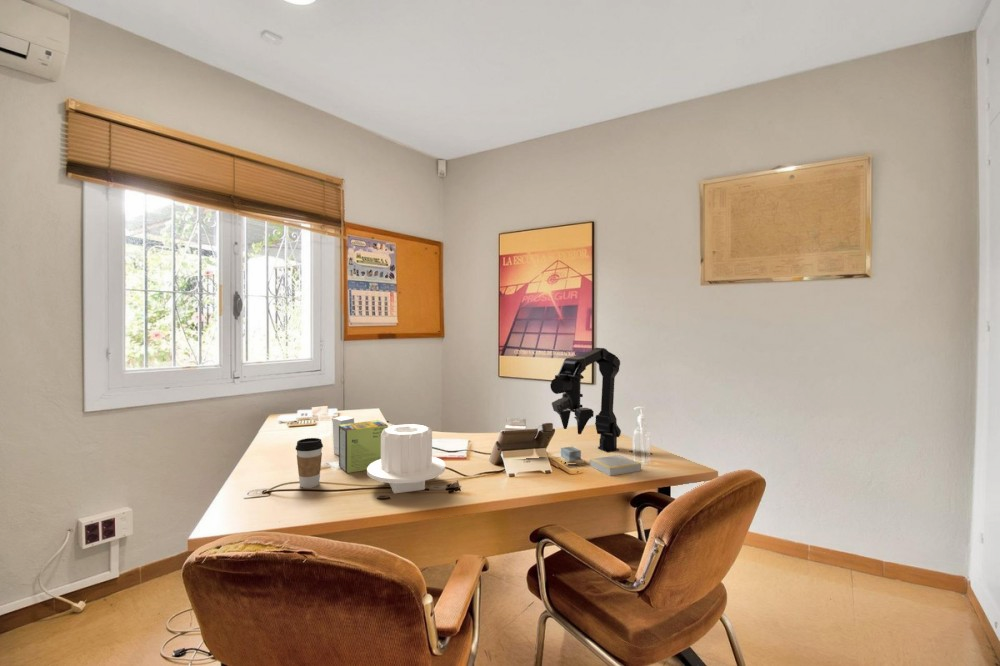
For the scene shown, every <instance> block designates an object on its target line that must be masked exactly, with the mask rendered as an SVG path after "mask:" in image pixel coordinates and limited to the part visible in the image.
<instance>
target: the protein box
mask: <svg viewBox="0 0 1000 666" xmlns="http://www.w3.org/2000/svg"><path fill="white" fill-rule="evenodd" d="M388 426H389V425H388V424H387V423H384V422H383V421H381V420H379V419H374V420H369V421H367V420H366V421H359V422H354V423H351V424H343V425H339V455H338V466H339V467H340V469H342V470H343V471H344V472H345V473H346V474H350V473H358V472H361V471H367V467H368V466H369V465H370V464H371V463H373V462H375V461H377V460H379V459H381V433H382V431H383V430H384V429H385V428H388Z"/></svg>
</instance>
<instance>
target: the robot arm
mask: <svg viewBox="0 0 1000 666" xmlns="http://www.w3.org/2000/svg"><path fill="white" fill-rule="evenodd" d="M594 363H597V364H598V371H599V372H600V375H601V376H602V381H601V402H600V411H599V413H598V414H596V415H595V423H594V425H595V430H596V434H597V435H599V437H600V438H599V446H597V448H598V449H599V450H601V451H604V452H606V453H609V452H617V451H620V449H619V448H617V445H618V438H620V436H621V433H622V430H621V429H620V427H619V425H618V424H617V421H618V420H617V417H616V414H615V413H614V393H615V378H616V376H617V375H618V373H619V372H620V366H621V361H620V359H619V357H618V356H617V355H616V354H614V353H612V352H610V351H608V349H607V348H605V347H594V348H593V349H591V350H589V351H588V352H585V353H583V354H582V355H579V356H571V357H566V358H565V359H564V360H563V362H562V365H561V366H560V369H559V371H558V373H557V374H556V375H554V378H553V379H552V380H551V382H550V384H549V385H550V390H551V392H552V393H554V394H555V395H558V394H562V395H561V396H562V397H560V398H558V399H556V400H554V401H552V402H551V406H552V409H553V411H554V412H556V413H557V415H559V417H560V420H561V424H562V427H563V430H567V428H568V426H569V421H570V417H571V413H574V417H573V418H574V419H575V420H576V427H577V435H582V433H583V431H584V429H585V427H586V425H587V423H588V422H589V420H590V419H592V418H594V410H593V409H592V408H589V407H583V404H581V398H583V393H581V387H582V386H581V384H582V383H581V382H582V381H581V380H583V379H585V377H584V376H583V375H582V373H583V372H584V371H586V370H587V367H588V366H590V365H591V364H594Z"/></svg>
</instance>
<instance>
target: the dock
mask: <svg viewBox="0 0 1000 666" xmlns="http://www.w3.org/2000/svg"><path fill="white" fill-rule="evenodd" d="M589 466H590V467H592V468H594V469H596V470H597V471H600V472H601V473H603V474H606V475H607V476H609V477H611V476H617V475H622V474H630V473H636V472H641V471H642V462H638V461H635V460H633V459H631V458H628V457H625V456H624V455H620V454H617V455H611V456H610V455H609V456H604V457H597V458H589Z"/></svg>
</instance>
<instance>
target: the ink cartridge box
mask: <svg viewBox="0 0 1000 666" xmlns="http://www.w3.org/2000/svg"><path fill="white" fill-rule="evenodd" d="M505 420H506V424H505V426H504V432H505V431H509V430H523V429H526V430H527V419H526V418H523V417H522V418H520V417H519V418H518V417H506V419H505Z"/></svg>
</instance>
